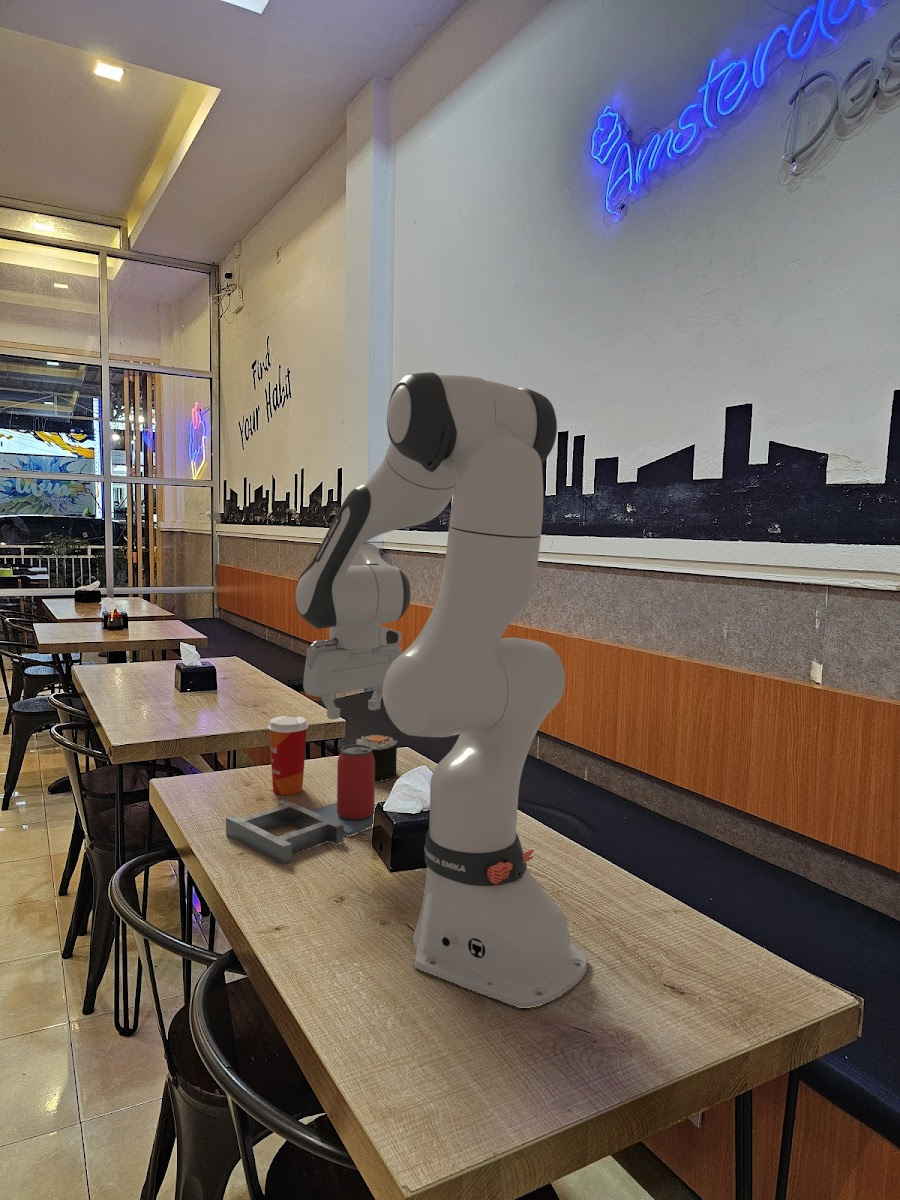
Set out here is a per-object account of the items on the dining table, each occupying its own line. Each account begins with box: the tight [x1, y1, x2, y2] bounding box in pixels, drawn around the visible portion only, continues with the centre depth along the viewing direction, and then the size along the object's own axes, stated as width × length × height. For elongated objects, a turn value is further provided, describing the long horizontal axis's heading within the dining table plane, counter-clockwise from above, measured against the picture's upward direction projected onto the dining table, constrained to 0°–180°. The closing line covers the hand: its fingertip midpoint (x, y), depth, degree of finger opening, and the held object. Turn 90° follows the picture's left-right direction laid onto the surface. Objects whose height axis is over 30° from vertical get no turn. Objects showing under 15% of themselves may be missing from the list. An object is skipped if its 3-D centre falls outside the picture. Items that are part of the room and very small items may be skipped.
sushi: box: [355, 734, 398, 781], centre depth 161 cm, size 8×8×8 cm
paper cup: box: [267, 715, 309, 796], centre depth 151 cm, size 8×8×14 cm
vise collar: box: [225, 799, 345, 866], centre depth 129 cm, size 16×12×3 cm
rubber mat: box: [310, 801, 378, 836], centre depth 139 cm, size 12×12×1 cm
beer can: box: [336, 744, 376, 820], centre depth 137 cm, size 7×7×12 cm
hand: (354, 713), depth 136 cm, fingers open, 8 cm apart
